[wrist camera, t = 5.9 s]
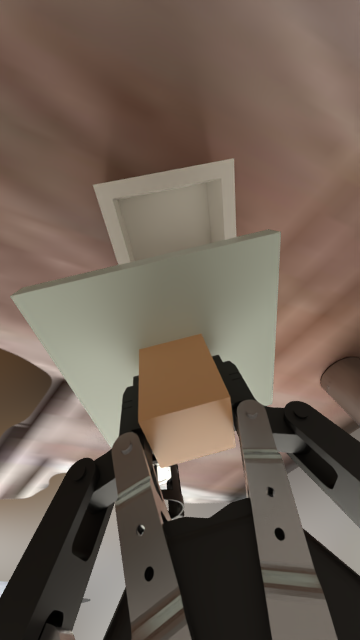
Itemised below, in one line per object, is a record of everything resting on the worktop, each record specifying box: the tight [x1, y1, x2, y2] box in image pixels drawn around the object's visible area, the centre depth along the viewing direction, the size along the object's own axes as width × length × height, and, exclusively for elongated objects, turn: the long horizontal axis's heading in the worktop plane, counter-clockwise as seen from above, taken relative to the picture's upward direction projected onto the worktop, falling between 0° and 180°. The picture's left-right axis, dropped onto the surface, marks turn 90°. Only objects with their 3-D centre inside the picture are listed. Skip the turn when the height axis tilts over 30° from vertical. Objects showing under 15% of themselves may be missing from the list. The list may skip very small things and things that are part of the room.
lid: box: [10, 229, 281, 468], centre depth 13 cm, size 14×14×6 cm
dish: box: [93, 158, 236, 265], centre depth 23 cm, size 12×12×6 cm
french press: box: [152, 453, 184, 520], centre depth 35 cm, size 12×9×23 cm
